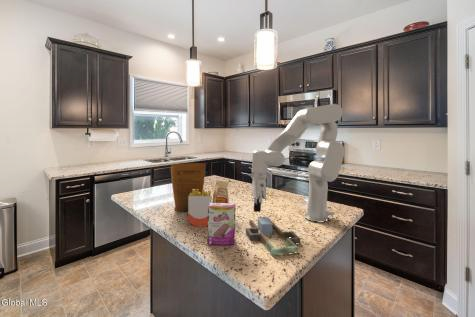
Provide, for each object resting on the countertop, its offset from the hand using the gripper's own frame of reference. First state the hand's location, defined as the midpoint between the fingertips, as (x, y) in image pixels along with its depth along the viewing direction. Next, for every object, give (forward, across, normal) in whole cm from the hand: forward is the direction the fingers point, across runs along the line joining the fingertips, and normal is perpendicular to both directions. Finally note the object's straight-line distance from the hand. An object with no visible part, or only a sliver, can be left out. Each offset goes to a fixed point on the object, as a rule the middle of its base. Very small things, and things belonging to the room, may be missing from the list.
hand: (257, 211), depth 122 cm
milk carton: (+7, +14, +16) cm, 22 cm away
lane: (+6, -17, -1) cm, 18 cm away
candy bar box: (+7, -19, +21) cm, 29 cm away
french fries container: (+7, +3, +28) cm, 29 cm away
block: (+6, -10, -1) cm, 12 cm away
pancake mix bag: (+7, +25, +33) cm, 42 cm away
